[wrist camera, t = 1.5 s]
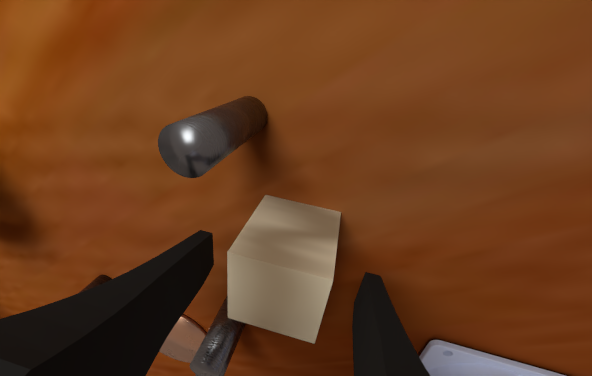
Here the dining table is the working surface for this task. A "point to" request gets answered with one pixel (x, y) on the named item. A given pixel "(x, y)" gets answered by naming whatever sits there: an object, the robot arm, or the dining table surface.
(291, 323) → the block
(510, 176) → the dining table surface
